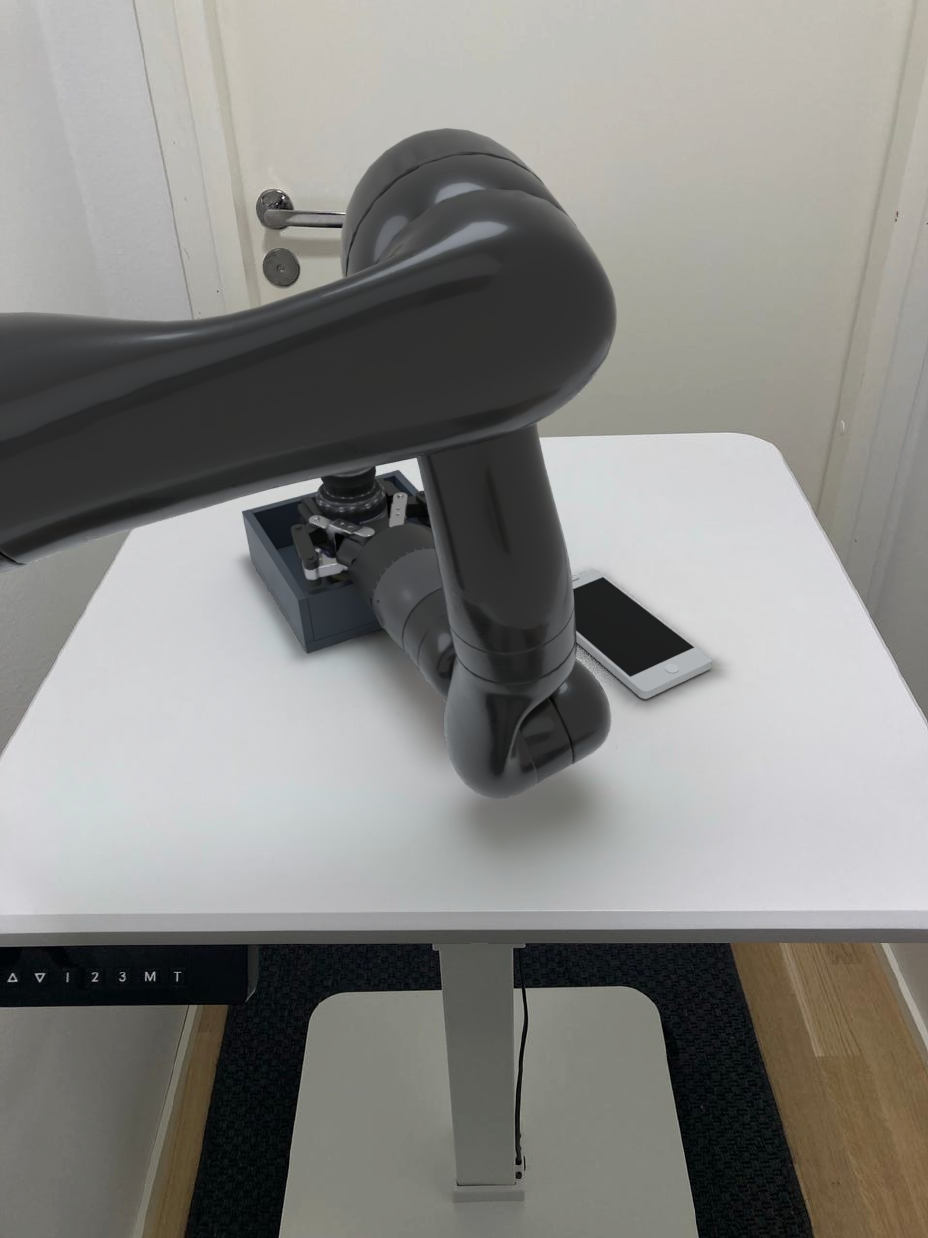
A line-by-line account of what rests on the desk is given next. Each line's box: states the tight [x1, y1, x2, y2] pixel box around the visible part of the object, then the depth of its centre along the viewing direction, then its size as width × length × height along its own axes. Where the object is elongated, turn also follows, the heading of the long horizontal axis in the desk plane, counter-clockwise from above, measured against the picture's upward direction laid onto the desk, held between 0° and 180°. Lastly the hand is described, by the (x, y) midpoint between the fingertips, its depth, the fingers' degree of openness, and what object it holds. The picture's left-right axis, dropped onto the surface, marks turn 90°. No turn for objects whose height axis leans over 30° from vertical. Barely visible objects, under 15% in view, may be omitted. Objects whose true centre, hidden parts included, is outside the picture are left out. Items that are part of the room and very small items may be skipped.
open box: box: [241, 469, 425, 654], centre depth 88 cm, size 16×16×6 cm
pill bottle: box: [315, 466, 388, 583], centre depth 85 cm, size 6×6×11 cm
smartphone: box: [572, 568, 713, 700], centre depth 81 cm, size 7×15×1 cm, turn 32°
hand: (342, 496), depth 86 cm, fingers closed on pill bottle, 6 cm apart
